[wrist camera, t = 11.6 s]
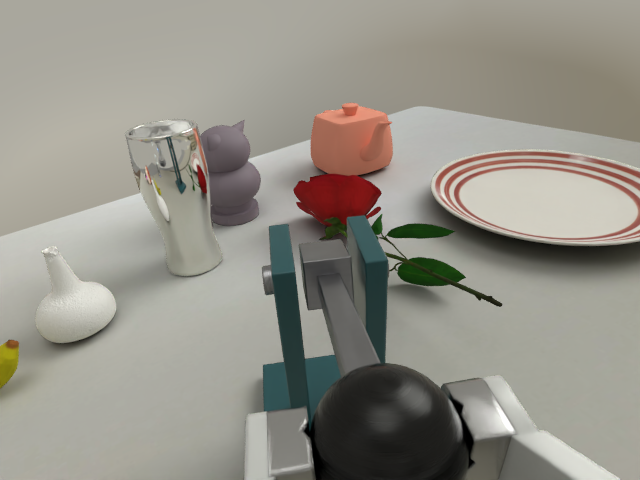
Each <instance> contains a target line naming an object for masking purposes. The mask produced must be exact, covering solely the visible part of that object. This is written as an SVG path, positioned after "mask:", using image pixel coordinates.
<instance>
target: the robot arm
mask: <svg viewBox="0 0 640 480" xmlns="http://www.w3.org/2000/svg"><path fill="white" fill-rule="evenodd" d="M441 390H442V391H443V392H444V393H445V394H446V395H447V397H448V398H449V399H450V401H451V402H452V404H453V405H454V407H455V409H456V410H457V412H458V414H459V416H460V419H461V421H462V424H463V427H464V430H465V433H466V438H467V444H468V454H469V462H468V472H467V478H466V480H621V479H620V478H618V477H617V476H615V475H613V474H612V473H610V472H609V471H607V470H606V469H604V468H603V467H601V466H600V465H598V464H596V463H595V462H593V461H592V460H590V459H589V458H587V457H586V456H584V455H583V454H581V453H580V452H578V451H576V450H575V449H573V448H572V447H570V446H569V445H567V444H566V443H564V442H563V441H561V440H559V439H558V438H556V437H555V436H553V435H552V434H550V433H549V432H547V431H546V430H541V431H539V430H538V428H537V427H536V425H535V424H534V422H533V421H532V419H531V418H530V416H529V415H528V413H527V412H526V410H525V409H524V407H523V406H522V404H521V403H520V401H519V400H518V398H517V397H516V395H515V394H514V392H513V391H512V389H511V388H510V386H509V385H508V383H507V382H506V380H505V379H504V378H503V377H502V376H501V375H494V376H489V377H483V378H473V379H467V380H462V381H456V382H450V383H445V384H443V385H442V386H441ZM309 436H310V429H309V422H308V414H307V406H303V407H295V408H288V409H281V410H273V411H265V412H259V413H252V414H247V416H246V421H245V461H244V480H316V478H315V470H314V462H313V453H312V445H311V439H310V438H309Z"/></svg>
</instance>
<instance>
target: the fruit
mask: <svg viewBox="0 0 640 480" xmlns="http://www.w3.org/2000/svg"><path fill="white" fill-rule="evenodd" d="M18 356H19V342H18V341H14V340H8V341H7V342H6V343H4V344H3V345H1V346H0V388H1V387H2V386H4V385H5V384H6V383H7V382H8V381H9V379H10V378H11V377H12V376H13V374H14V372H15V371H16V369H17V365H18Z"/></svg>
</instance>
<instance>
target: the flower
mask: <svg viewBox="0 0 640 480" xmlns="http://www.w3.org/2000/svg"><path fill="white" fill-rule="evenodd" d="M293 191H294V193H295V195H296V197H297V198H298V199H299V200H300V202H296V203H297V206H298V207H299V208H300V209H301V210H303V211H305V212H306V213H308V214H310V215H312V216H313V217H314V218H316V219H317V220H318V221H319V222H320V223H322V224H324V225H326V226H328V227H326V228H325V234H326V236H325V237H323V238H320V239H319V240H324V239H330V238H332V237H333V236H334V235H336V234H337V233H339V232H341V233H342V234H343V235H344V236H345V237H347V233H346V232H344V230H346V231H347V217H353V216H362V215H365V216H366V218H367V219H368V218H369V217H372V216H374V215H375V214H377V213H378V212H379V211H380V210H381V207H377V208H375V209H374V210H373V211H371V212H370V213H369V214H368V212H369V211H370V210H371V208H372V207H373V206H374V205H375V204H376V202H377V200H378V198H379V196H380V195H381V191H380V189H378V188H377V187H376V186H375V185H373V184H372V183H371V182H369V181H367V180H365V179H363V178H361V177H359V176H356V175H350V176H346V175H341V174H324V175H319V176H313V177H310V181H309V182H305V181H303V180H302V181H299V182H298V184H297V186H296V187H295V188H294V190H293ZM312 212H313V213H314V214H315V215H314V214H313V213H312ZM367 214H368V215H367ZM381 218H382V214H381V215H380V216H379V217H378V218H377V220H376V221H375V222H374V224H373V225H372V226H371V228H372V230H373V232H374V234H375V236H376V235H379V234H380V233H381V232H382V222H381ZM453 232H455V231H453V230H449V229H446V228H443V227H439V226H435V225H428V224H407V225H404V226H400V227H397V228H394V229H392V230H391V231H389V233H388V234H387V235H386V236H389V237H392V238H418V239H419V238H436V237H443V236H447V235H449V234H451V233H453ZM381 234H382V233H381ZM386 236H385V237H384V236H383V235H382V237H383V238H382V237H380V238H381V239H384V240H386V241H387V242H389V243H390V244H392V243H391V242H390V241H389V240H388V239H387V238H386ZM376 238H377V240H378V237H377V236H376ZM392 245H393V246H394V244H392ZM394 247H395V246H394ZM395 248H396V247H395ZM396 249H397V248H396ZM397 251H398V252H399V253H400V254H401V255H402V256H404V255H403V254H402V253H401V252H400V251H399V250H398V249H397ZM385 254H386V256H387V257H391V258H394V259H397V260H400V261H402V262H400V263H397V264H396V265H395V266H394V268H392V269H391V270H389V271H392V270H394V269H395V270H396V266H397V265H398V264H401V263H402V264H401V265H400V266H399V267H398V270H396V271H398V273H397V274H398V276H399V277H400V278H401V279H402V280H404V281H406V282H408V283H412V284H416V285H423V286H444V285H449V284H451V285H453V286H455V287H458V288H460V289H462V290H464V291H467V292H469V293H471V294H473V295H475V296H476V297H477V298H478V300H479V301H480V300H481V298H482V299H484V300H486V301H488V302H490V303H492V304H494V305H496V306H499V307H501V306H502V303H500V302H498V301H497V300H495V299H493V298H492V296H486V295H484V294H482V293H480V292H477V291H475V290H473V289H470V288H468V287H466V286H464V285H461V284H459V283H457V282H459V281H460V280H462V279H464V278H466V277H465V276H464V275H463V274H462V273H460V272H459V271H458V270H456V269H455V268H453V267H451V266H450V265H448V264H446V263H444V262H441V261H438V260H434V259H430V258H422V257H418V258H411V259H409V260H408V259H407V258H406V257H405V256H404V257H405V258H402V257H399V256H396V255H393V254H389V253H386V252H385Z"/></svg>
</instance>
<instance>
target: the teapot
mask: <svg viewBox="0 0 640 480" xmlns="http://www.w3.org/2000/svg"><path fill="white" fill-rule="evenodd" d="M342 108H343V109H340V110H335V111H331V110H326V111H324V112H323V113H322V114H318V115H316V116H315V119H314V123H313V129H312V135H311V158H312V160H313V163H314V165H315V166H316V167H318V168H319V169H321V170H323V171H324V172H326V173H328V174H341V175H346V176H350V175H356V176H357V175H361V174H365V173H369V172H372V171H375V170H378V169H381V168H383V167H386V166H388V165H389V163H390V161H391V158H392V154H393V147H392V136H391V130H390V126H389V124H391V123H392V122H390V121H388V117H387V115H386V114H385V113H383V112H380V111H376V110H373V109H369V108H365V107H358V104H356V103H346V104H343V105H342Z"/></svg>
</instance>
